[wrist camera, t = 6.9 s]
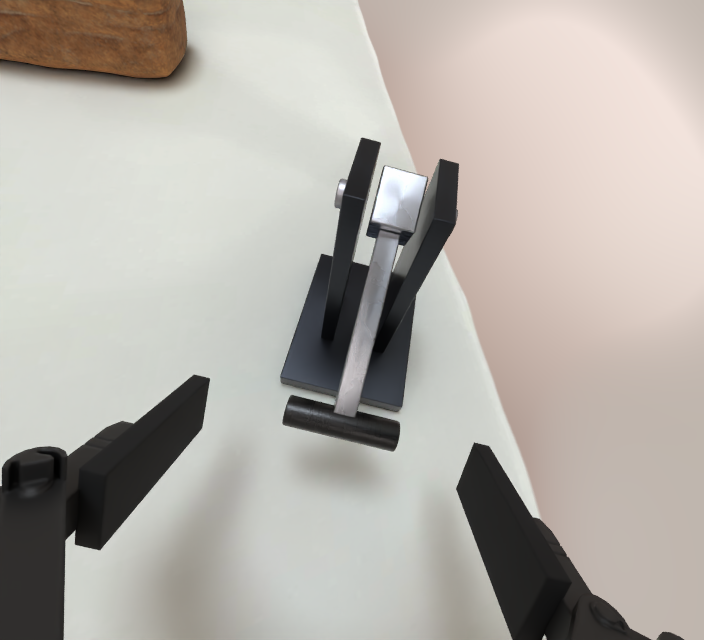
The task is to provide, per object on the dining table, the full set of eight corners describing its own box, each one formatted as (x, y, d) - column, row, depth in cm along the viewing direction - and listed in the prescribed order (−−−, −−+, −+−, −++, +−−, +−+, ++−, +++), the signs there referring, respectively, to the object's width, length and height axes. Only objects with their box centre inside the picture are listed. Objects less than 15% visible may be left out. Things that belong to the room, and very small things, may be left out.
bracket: (397, 412, 25) (504, 308, 12) (280, 383, 25) (266, 247, 12) (413, 286, 31) (496, 132, 18) (320, 262, 31) (338, 89, 18)
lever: (389, 442, 17) (396, 460, 15) (286, 418, 17) (278, 431, 15) (446, 205, 18) (462, 185, 16) (348, 178, 18) (350, 155, 16)
